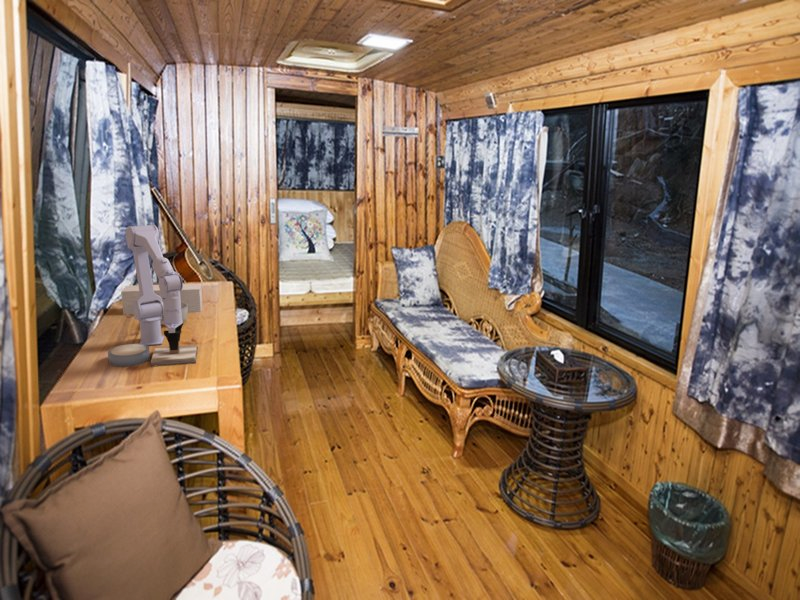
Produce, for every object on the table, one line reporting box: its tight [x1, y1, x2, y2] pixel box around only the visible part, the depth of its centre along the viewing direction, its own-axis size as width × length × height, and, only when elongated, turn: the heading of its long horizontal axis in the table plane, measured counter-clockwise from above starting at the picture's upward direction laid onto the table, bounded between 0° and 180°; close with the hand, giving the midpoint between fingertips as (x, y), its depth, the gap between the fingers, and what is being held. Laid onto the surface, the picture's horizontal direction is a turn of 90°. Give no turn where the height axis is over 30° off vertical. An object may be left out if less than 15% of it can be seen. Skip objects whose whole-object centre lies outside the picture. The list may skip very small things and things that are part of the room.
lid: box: [150, 341, 198, 365], centre depth 201 cm, size 14×14×5 cm
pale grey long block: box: [120, 283, 203, 315], centre depth 256 cm, size 32×11×11 cm, turn 105°
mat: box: [151, 345, 199, 367], centre depth 201 cm, size 16×14×1 cm
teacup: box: [160, 302, 189, 323], centre depth 237 cm, size 14×11×8 cm
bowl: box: [107, 343, 151, 368], centre depth 197 cm, size 13×13×4 cm
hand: (175, 346), depth 201 cm, fingers open, 7 cm apart
